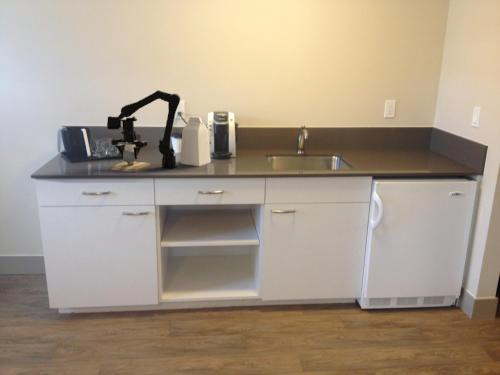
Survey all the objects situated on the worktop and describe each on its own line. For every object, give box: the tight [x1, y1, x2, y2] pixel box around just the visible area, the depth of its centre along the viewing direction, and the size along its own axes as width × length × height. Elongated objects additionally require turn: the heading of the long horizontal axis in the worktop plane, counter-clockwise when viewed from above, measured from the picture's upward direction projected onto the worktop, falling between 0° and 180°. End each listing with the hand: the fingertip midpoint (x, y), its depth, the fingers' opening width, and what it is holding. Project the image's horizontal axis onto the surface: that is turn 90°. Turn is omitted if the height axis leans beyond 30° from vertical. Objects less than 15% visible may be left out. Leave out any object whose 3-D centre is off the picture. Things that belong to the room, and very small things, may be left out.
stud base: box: [109, 160, 152, 173], centre depth 243 cm, size 16×15×4 cm
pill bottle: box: [125, 142, 136, 150], centre depth 266 cm, size 8×8×15 cm
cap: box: [122, 150, 138, 162], centre depth 242 cm, size 7×7×5 cm
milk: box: [181, 115, 211, 167], centre depth 253 cm, size 12×12×26 cm
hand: (130, 158), depth 243 cm, fingers closed on cap, 7 cm apart
